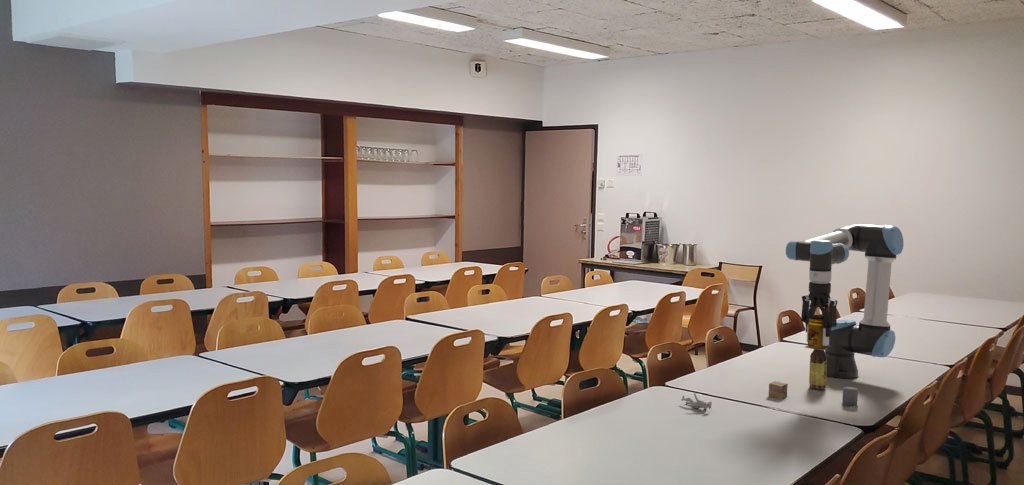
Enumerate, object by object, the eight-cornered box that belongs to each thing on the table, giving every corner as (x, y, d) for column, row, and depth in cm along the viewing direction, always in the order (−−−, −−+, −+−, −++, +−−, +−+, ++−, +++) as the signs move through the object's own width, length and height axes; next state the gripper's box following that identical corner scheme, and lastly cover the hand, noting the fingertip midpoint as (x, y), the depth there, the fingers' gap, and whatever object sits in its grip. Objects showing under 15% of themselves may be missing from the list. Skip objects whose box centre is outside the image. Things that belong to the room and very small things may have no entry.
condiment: (803, 347, 271) (804, 316, 270) (811, 343, 278) (812, 312, 276) (823, 350, 266) (825, 318, 265) (831, 346, 273) (832, 315, 272)
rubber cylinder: (847, 401, 273) (848, 386, 272) (860, 405, 268) (860, 389, 268) (839, 403, 270) (840, 387, 270) (851, 407, 266) (852, 391, 265)
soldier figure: (692, 405, 270) (719, 402, 261) (688, 416, 267) (716, 413, 258) (680, 392, 268) (706, 389, 259) (676, 403, 265) (703, 400, 256)
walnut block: (774, 393, 283) (775, 381, 282) (787, 396, 279) (787, 383, 279) (768, 396, 279) (769, 383, 279) (781, 399, 276) (781, 386, 275)
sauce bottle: (827, 390, 287) (829, 341, 285) (810, 389, 288) (812, 340, 286) (823, 386, 293) (826, 337, 292) (807, 385, 294) (809, 336, 293)
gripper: (791, 279, 276) (789, 339, 278) (836, 286, 260) (833, 349, 262) (804, 277, 280) (802, 337, 282) (849, 284, 263) (847, 347, 265)
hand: (817, 343), depth 272 cm, fingers closed on condiment, 6 cm apart
